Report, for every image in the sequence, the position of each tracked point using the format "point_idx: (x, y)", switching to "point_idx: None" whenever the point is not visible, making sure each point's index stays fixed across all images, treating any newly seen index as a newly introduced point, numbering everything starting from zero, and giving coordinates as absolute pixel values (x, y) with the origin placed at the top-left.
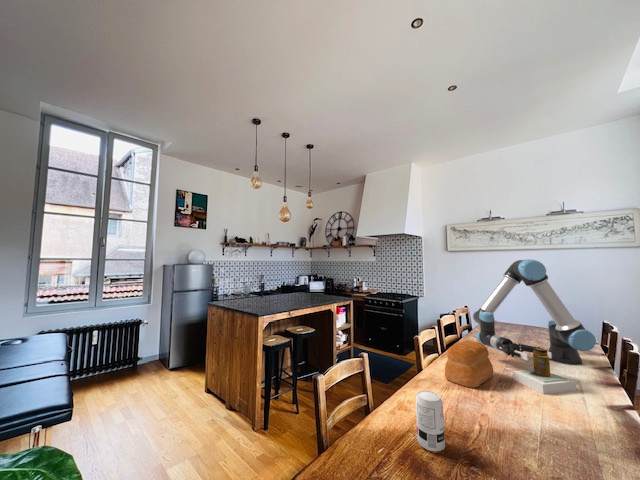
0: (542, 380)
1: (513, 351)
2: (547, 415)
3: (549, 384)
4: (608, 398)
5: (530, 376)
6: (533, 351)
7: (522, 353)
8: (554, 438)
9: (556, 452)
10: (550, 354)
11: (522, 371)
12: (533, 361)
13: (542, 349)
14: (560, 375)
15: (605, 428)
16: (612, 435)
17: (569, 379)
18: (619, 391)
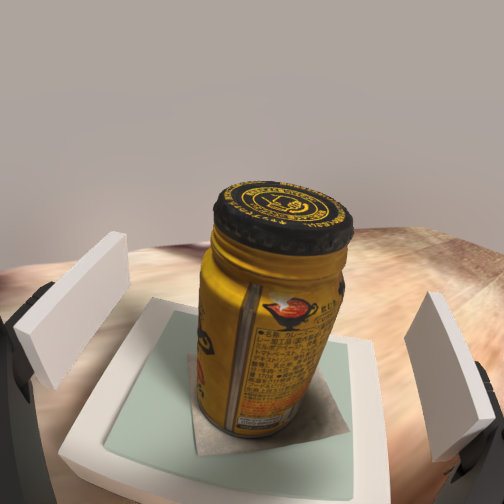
0: (345, 351)
1: (498, 428)
2: (447, 302)
3: (329, 336)
4: (143, 272)
5: (349, 419)
6: (335, 271)
7: (457, 329)
8: (475, 271)
9: (486, 261)
10: (126, 250)
11: (341, 484)
12: (314, 363)
13: (271, 195)
14: (119, 352)
15: (361, 249)
16: (371, 242)
17: (152, 315)
18: (41, 267)
